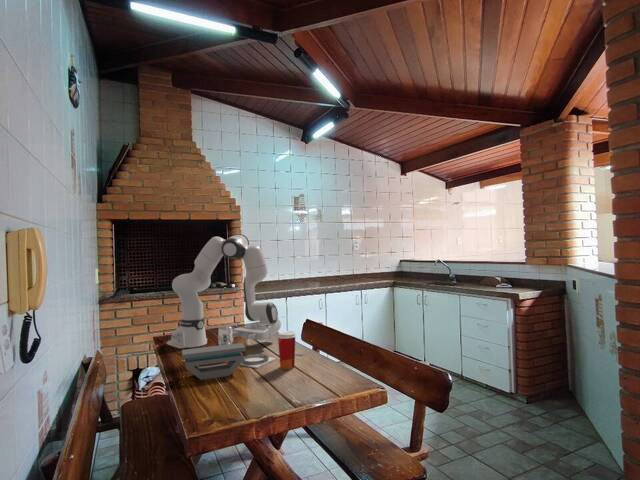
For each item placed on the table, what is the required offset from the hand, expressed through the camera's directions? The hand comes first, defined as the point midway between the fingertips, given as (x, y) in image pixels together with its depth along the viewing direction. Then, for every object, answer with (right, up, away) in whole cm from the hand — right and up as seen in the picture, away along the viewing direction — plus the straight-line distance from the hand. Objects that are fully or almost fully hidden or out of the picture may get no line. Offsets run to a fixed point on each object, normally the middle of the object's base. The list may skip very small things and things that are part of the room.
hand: (240, 336), depth 188 cm
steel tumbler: (-5, -9, -9) cm, 13 cm away
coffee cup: (+25, -8, -23) cm, 35 cm away
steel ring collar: (+10, -8, -14) cm, 19 cm away
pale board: (+10, -8, -14) cm, 19 cm away
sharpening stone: (-4, -9, -30) cm, 31 cm away
